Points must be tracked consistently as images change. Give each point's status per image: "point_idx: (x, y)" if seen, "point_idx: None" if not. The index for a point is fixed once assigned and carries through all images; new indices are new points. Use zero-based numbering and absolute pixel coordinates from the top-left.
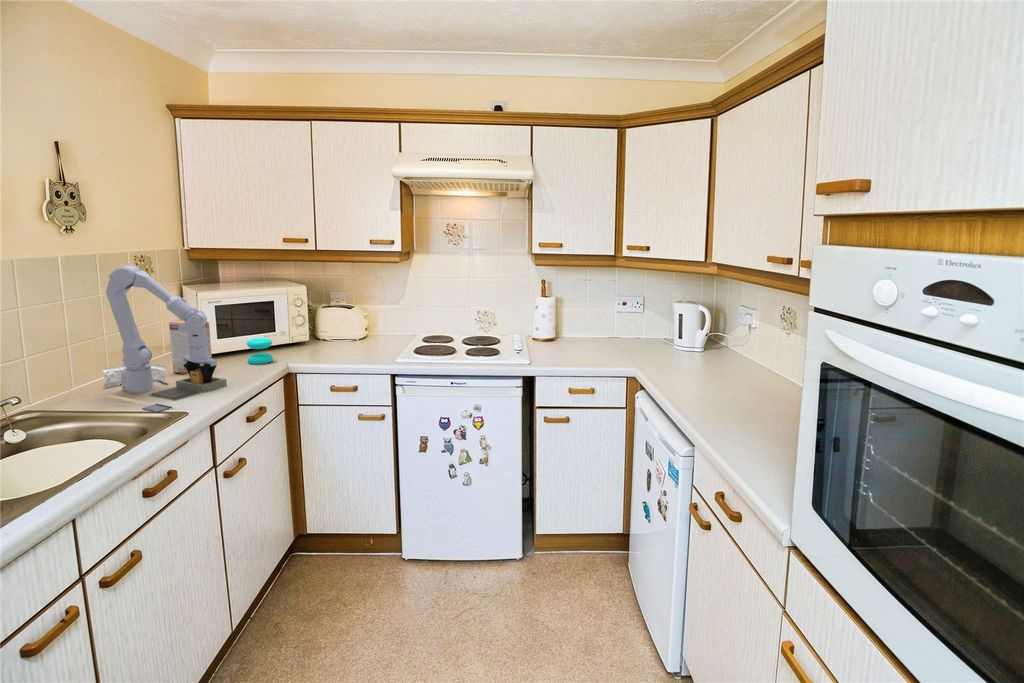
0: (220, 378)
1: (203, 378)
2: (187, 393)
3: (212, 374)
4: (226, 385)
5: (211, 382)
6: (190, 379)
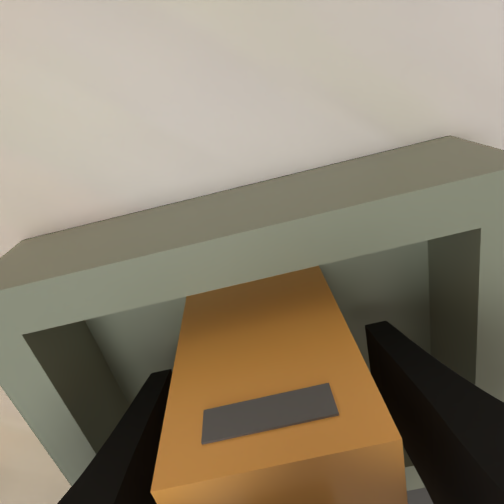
0: (420, 204)
1: (418, 460)
2: (425, 500)
3: (485, 396)
4: (473, 146)
5: (493, 371)
6: (98, 435)
